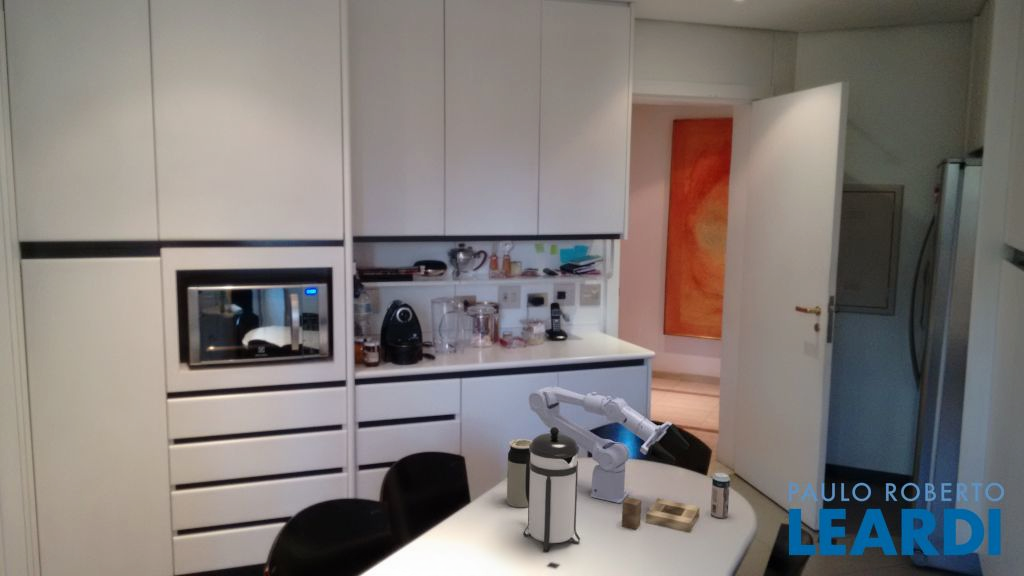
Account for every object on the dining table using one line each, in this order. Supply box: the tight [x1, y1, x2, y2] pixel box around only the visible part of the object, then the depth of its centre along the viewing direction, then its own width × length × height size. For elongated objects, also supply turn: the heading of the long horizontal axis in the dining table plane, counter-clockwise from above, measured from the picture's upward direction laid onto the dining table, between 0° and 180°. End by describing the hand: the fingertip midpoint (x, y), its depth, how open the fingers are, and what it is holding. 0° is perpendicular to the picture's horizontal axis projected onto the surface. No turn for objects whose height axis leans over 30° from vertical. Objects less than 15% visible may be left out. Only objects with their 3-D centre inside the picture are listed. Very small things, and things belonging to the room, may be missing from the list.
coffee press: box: [522, 427, 581, 553], centre depth 176 cm, size 17×16×30 cm
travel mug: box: [506, 438, 533, 508], centre depth 198 cm, size 8×8×18 cm
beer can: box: [710, 471, 731, 519], centre depth 193 cm, size 5×5×12 cm
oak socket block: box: [645, 498, 701, 533], centre depth 191 cm, size 12×12×2 cm
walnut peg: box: [621, 496, 642, 531], centre depth 186 cm, size 4×4×7 cm
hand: (681, 454), depth 191 cm, fingers open, 7 cm apart
